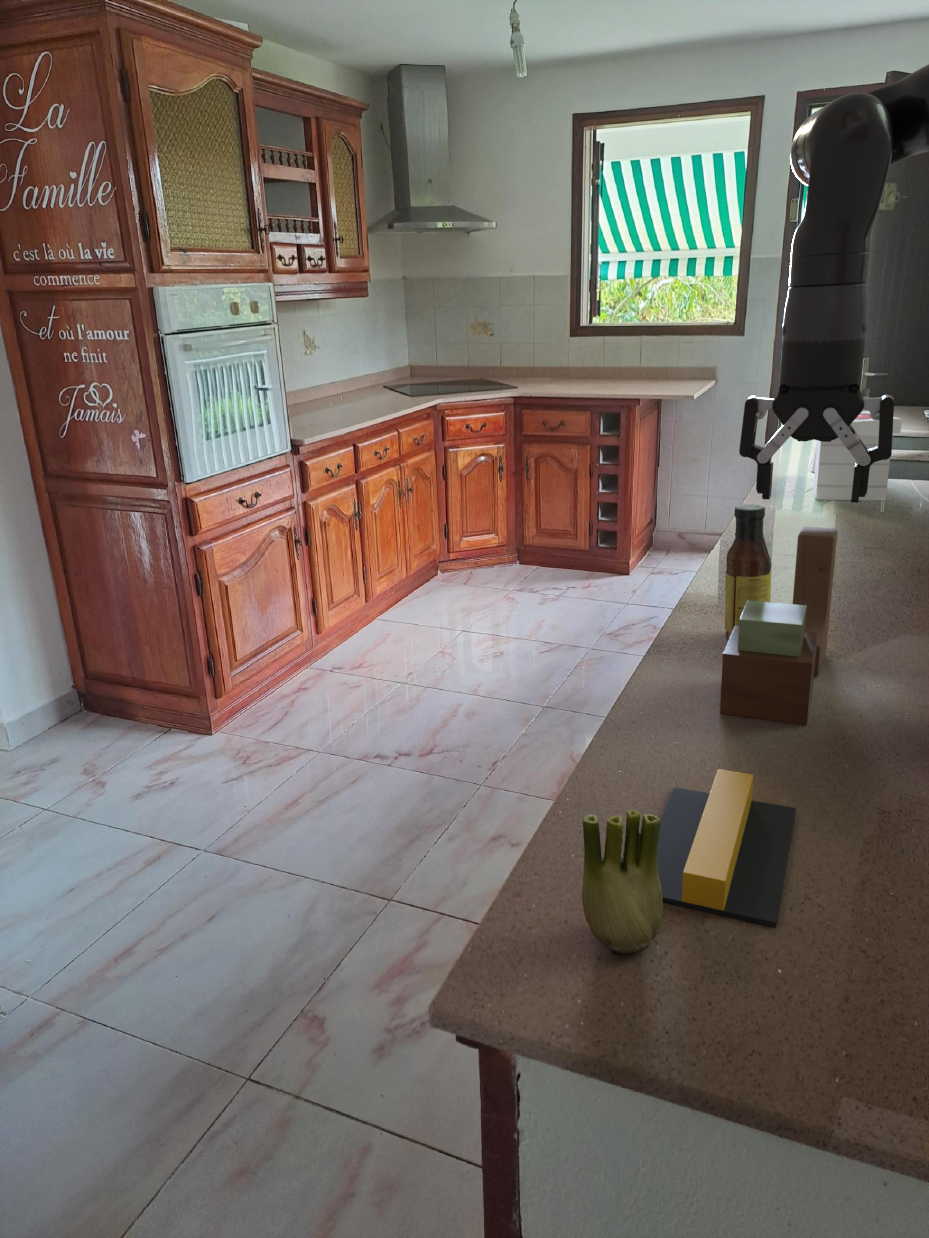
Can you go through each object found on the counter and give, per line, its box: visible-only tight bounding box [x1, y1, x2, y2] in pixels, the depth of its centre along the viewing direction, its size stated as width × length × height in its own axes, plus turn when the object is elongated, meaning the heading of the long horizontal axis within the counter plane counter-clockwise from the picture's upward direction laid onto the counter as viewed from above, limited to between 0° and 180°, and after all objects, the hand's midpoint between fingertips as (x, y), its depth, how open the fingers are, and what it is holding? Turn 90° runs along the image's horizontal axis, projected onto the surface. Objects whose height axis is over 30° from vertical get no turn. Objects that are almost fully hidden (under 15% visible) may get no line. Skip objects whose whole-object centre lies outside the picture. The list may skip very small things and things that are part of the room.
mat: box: [657, 786, 797, 928], centre depth 82 cm, size 18×12×1 cm, turn 156°
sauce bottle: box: [724, 503, 772, 641], centre depth 126 cm, size 6×6×20 cm
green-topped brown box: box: [719, 601, 818, 726], centre depth 108 cm, size 10×10×12 cm
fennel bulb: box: [581, 809, 664, 955], centre depth 70 cm, size 6×5×12 cm
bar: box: [682, 768, 754, 911], centre depth 81 cm, size 18×4×3 cm, turn 156°
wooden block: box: [792, 526, 839, 677], centre depth 117 cm, size 9×4×18 cm, turn 153°
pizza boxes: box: [811, 410, 903, 502], centre depth 212 cm, size 19×30×18 cm, turn 162°
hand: (809, 499), depth 91 cm, fingers open, 8 cm apart
